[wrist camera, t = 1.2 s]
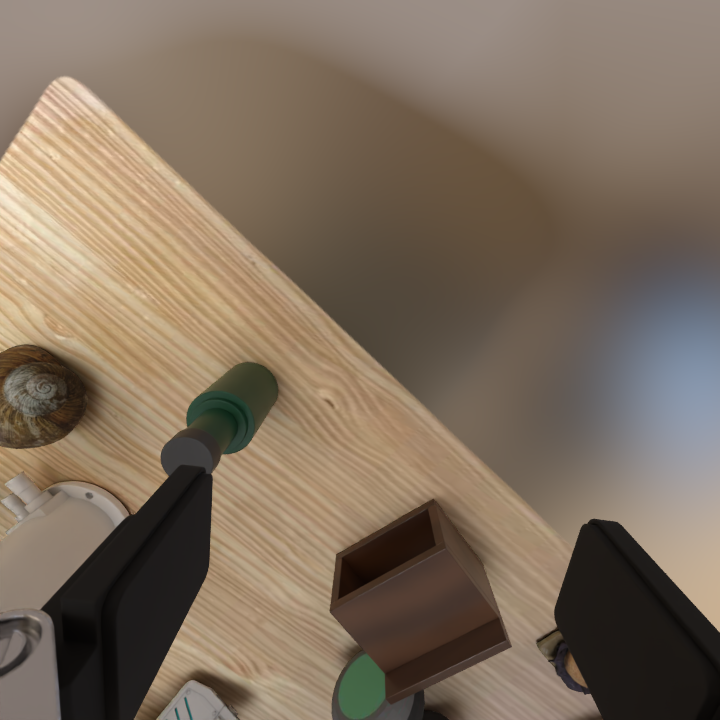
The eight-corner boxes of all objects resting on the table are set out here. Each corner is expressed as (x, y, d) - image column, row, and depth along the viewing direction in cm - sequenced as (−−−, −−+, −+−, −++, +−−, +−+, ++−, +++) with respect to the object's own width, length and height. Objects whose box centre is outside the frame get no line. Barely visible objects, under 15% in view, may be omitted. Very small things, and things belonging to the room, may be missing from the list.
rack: (336, 554, 49) (326, 634, 39) (433, 498, 46) (450, 567, 36) (387, 614, 51) (390, 705, 41) (483, 564, 48) (512, 647, 38)
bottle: (212, 382, 43) (127, 451, 28) (254, 351, 42) (190, 406, 27) (247, 424, 44) (183, 512, 30) (289, 395, 43) (245, 471, 28)
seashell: (116, 389, 44) (61, 419, 36) (71, 445, 46) (10, 484, 38) (27, 319, 42) (-50, 334, 34) (-16, 380, 44) (-98, 407, 36)
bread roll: (530, 641, 51) (542, 670, 48) (587, 609, 50) (604, 637, 46) (576, 690, 53) (591, 722, 50) (633, 661, 52) (652, 691, 48)
